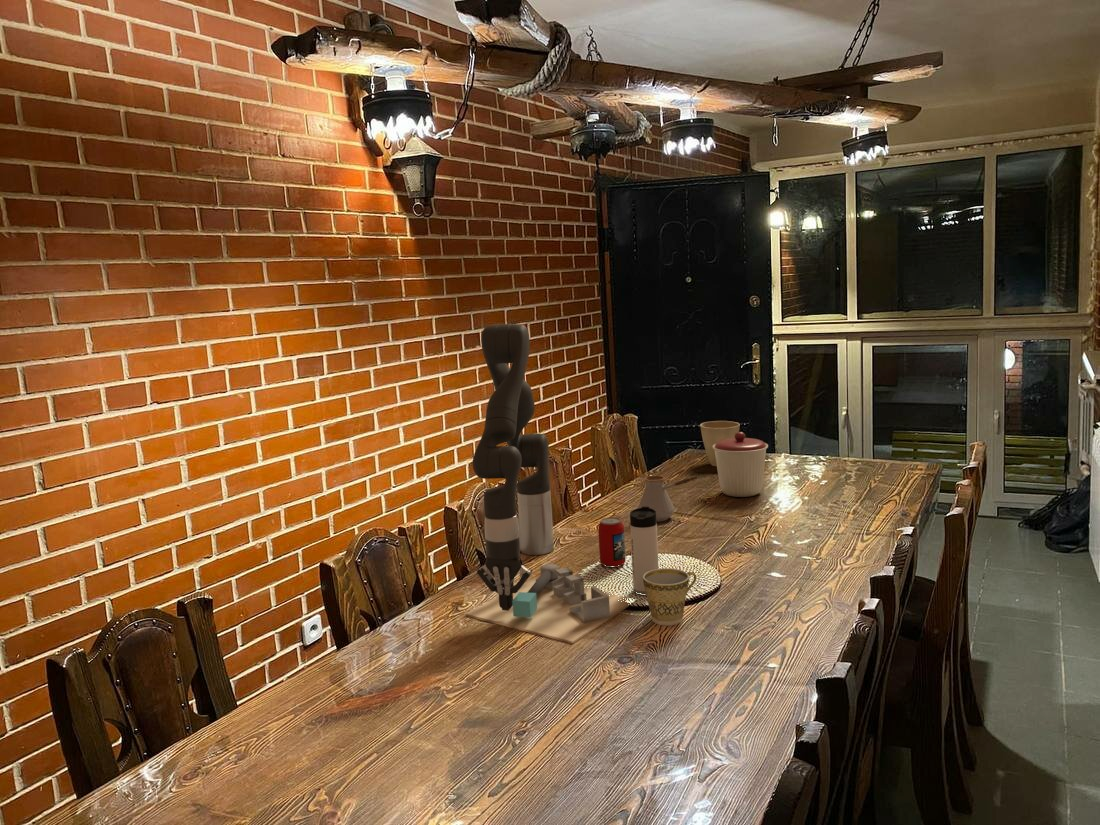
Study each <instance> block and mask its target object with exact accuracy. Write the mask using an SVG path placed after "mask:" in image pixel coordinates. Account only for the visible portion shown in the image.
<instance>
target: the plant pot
mask: <svg viewBox="0 0 1100 825" xmlns="http://www.w3.org/2000/svg"><path fill="white" fill-rule="evenodd" d="M740 424H741V423H739V422H735V421H728V420H714V421H713V420H712V421H706V422H702V423H700V424H699V425H700V432H701V437H702V441H703V446H704V449H705V452H706V455H707V458H708V461H709V463H710V465H711V466H712V467H717V463H716V456H715V450H714V449H713V445H714V444H716V443H717V442H719V441H721V440H725V439H731V438H735V437H734V435H735V433H737V432H740Z"/></svg>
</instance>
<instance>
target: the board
mask: <svg viewBox="0 0 1100 825" xmlns="http://www.w3.org/2000/svg"><path fill="white" fill-rule="evenodd" d="M538 578H539V577H535V576H534V577H532V578H530V579H527V580H526V582H525V583H524V584H523V585H522V587H521V588H520V589H519V590H518V592H517V593H513V599H514V598H515V597H516V596H517V594H518V593H519V592H526V593H527V592H528V591H529V590H530V588H531V587H532V586H533V585H534V583H535V582H536V581H537V579H538ZM561 584H564V576H562V577H560V576H559V577H558V578H556V579H552V580H549V582H548V583H547V584H546V586H545V587H544V588H543V590H542V591H541V592H540V594H539V595H538V597H537V609H536V611H535V612H534V613H533V615H532V616H531V617H517V616H513V606H512V607H511V608H510V610H509V611H506V610H502V608H500V606H499V595H498V596H496V597H495V598H493V599H491V600H489V601H486V602H485V603H483V604H481V605H480V606H478V607H476V608H474V609H472V610H470V611H468V612H466V613H465V617H469V618H473V619H477V620H481V621H484V622H489V623H492V624H496V625H499V626H503V627H508V628H511V629H514V630H519V631H523V632H525V633H526V632H527V633H530V634H533V635H538V636H540V637H541V636H542V637H544V638H546V637H547V638H550V639H553V640H555V641H556V640H558V641H561V642H565V643H568V644H572V645H573V644H576V642H578V641H579V640H581V639H582V638H584V637H585V636H587V635H588V634H590V633H591V632H593V631H594V630H595V629H597V628H598V627H600V626H602V625H603V624H604V623H606V622H608V621H610V619H612V618H613V617H615V616H617V615H618V614H619V613H620V612H622V611H624V610H626V609H627V608H628V607H629V606H628V604H630V603H627V602H625V601H626V600H627V597H629V598H630V597H631V596H627V597H625V596H626V595H621V596H619V597H618V595H619V594H617V595H615V594H616V593H612V592H607V591H606V592H607V595H608V596H609V595H610V596H609V606H610V618H606V619H601V620H597V621H593V622H589V623H585V624H584V623H583V622H581V621H580V620H579V619H578V618H576V617H575V616H574V615H573V614H572V613H570V608H571V607H575V606H580V605H581V603H578V604H574V605H568V604H567V603H566V602H564V597H561V598H559V597H557V596H556V595H555V594H554V588H553V586H557V585H561ZM584 592H585V593H586V597H587V600H589V599H591V588H589V587H584ZM609 593H610V594H609ZM611 593H612V594H613V595H612V594H611ZM605 594H606V593H605ZM623 596H624V597H623ZM618 598H619V599H618ZM623 598H624V599H623ZM625 598H626V600H625ZM631 598H633V597H631ZM620 599H622V600H620ZM618 600H619V601H618ZM623 600H624V601H623ZM628 600H629V599H628ZM621 601H622V602H621Z"/></svg>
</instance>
